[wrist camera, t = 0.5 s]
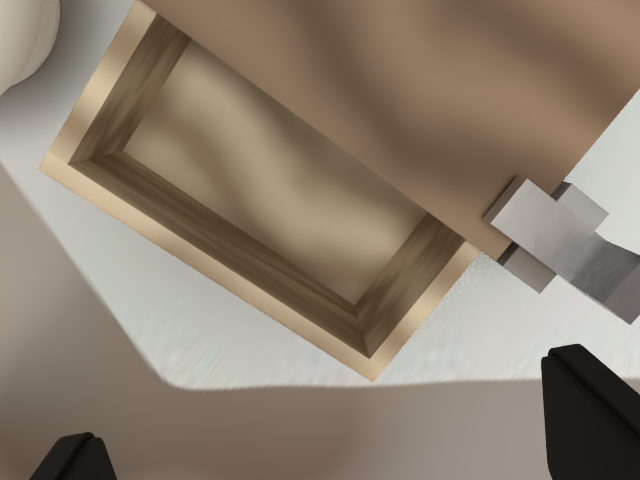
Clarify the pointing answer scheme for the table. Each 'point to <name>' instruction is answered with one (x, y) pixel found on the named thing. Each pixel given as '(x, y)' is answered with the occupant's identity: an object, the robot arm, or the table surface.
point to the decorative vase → (25, 37)
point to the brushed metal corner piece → (569, 247)
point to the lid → (437, 85)
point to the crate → (264, 197)
